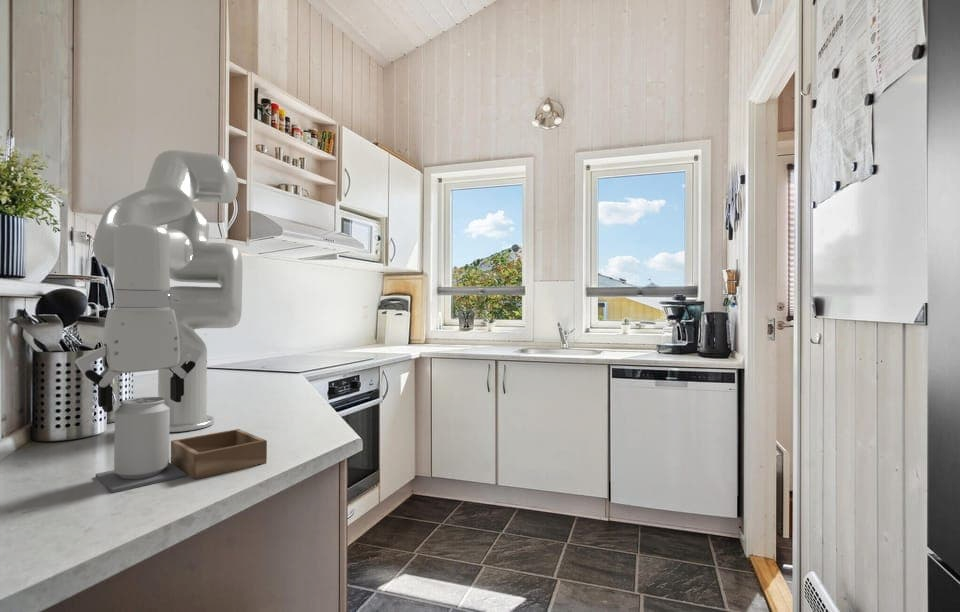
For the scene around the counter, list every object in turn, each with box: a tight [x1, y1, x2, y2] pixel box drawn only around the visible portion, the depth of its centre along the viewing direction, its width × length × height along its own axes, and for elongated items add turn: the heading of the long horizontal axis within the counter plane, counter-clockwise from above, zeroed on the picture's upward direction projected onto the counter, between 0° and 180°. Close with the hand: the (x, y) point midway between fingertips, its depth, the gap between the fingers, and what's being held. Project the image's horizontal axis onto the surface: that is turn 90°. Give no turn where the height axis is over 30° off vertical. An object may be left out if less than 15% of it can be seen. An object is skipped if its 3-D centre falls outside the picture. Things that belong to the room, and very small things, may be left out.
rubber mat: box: [95, 462, 187, 494], centre depth 82 cm, size 10×10×1 cm
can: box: [113, 396, 170, 479], centre depth 83 cm, size 8×8×12 cm
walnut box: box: [170, 428, 268, 480], centre depth 90 cm, size 12×12×4 cm
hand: (142, 405), depth 83 cm, fingers open, 9 cm apart
